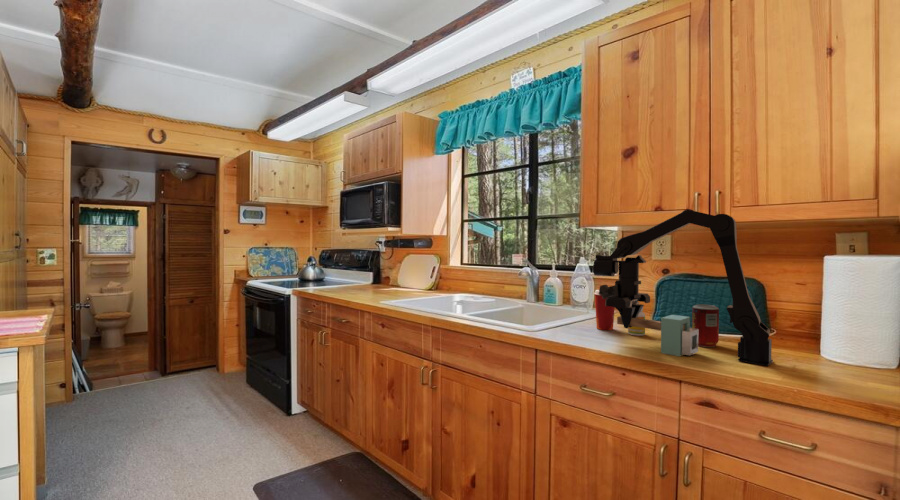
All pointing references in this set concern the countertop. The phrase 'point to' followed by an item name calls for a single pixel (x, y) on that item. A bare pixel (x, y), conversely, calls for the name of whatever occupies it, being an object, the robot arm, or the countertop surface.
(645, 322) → the shaft
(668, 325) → the block
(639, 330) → the supplement bottle
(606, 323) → the paper cup
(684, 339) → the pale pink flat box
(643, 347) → the countertop surface
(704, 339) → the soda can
